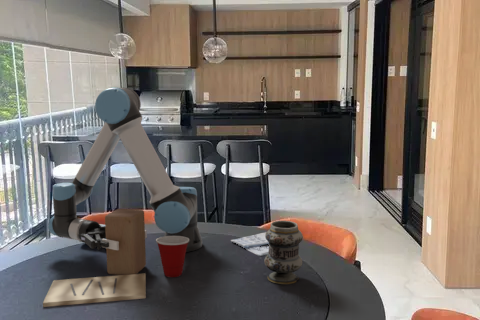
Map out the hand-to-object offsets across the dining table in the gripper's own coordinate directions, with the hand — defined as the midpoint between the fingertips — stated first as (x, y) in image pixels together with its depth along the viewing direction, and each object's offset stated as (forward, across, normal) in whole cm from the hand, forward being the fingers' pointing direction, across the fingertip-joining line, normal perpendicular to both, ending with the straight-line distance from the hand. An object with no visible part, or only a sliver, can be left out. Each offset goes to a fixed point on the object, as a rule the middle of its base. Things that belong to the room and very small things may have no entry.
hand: (132, 240), depth 157 cm
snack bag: (+26, -45, -12) cm, 53 cm away
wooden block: (-3, 0, -11) cm, 12 cm away
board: (+1, +17, -11) cm, 20 cm away
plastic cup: (+12, -5, -11) cm, 17 cm away
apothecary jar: (+46, -19, -11) cm, 50 cm away
